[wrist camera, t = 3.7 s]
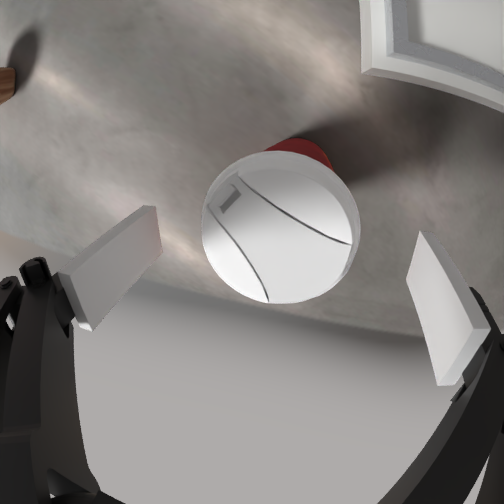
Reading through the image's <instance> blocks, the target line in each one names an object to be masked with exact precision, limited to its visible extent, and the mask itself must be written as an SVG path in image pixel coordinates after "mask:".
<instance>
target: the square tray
mask: <svg viewBox="0 0 504 504" xmlns="http://www.w3.org/2000/svg"><path fill="white" fill-rule="evenodd" d="M359 4H360V22H361V74H366V75H372V76H378V77H384V78H389V79H394V80H399V81H404V82H409V83H413V84H417V85H421V86H425V87H429V88H433V89H437V90H440V91H444V92H447V93H450V94H453V95H457V96H460V97H463V98H466V99H469V100H472V101H474V102H477V103H480V104H483V105H485V106H488V107H490V108H493V109H495V110H498V111H500V112H503V113H504V0H359Z"/></svg>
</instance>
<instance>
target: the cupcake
mask: <svg viewBox="0 0 504 504" xmlns="http://www.w3.org/2000/svg"><path fill="white" fill-rule="evenodd" d="M14 90H15V70H14V69H13V68H8V67H7V68H4V67H2V68H0V105H1V104H2V103H4V102H6V101H7V100H9V99H10V98H11V97H12V95H13V93H14Z"/></svg>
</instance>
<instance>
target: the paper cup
mask: <svg viewBox="0 0 504 504" xmlns="http://www.w3.org/2000/svg"><path fill="white" fill-rule="evenodd" d="M201 220H202V241H203V245H204V249H205V252H206V255H207V257H208V260H209V262H210V263H211V265H212V267H213V269H214V270H215V271H216V272H217V274H218V275H219V276H220V277H221V278H222V279H223V280H224V281H225V282H226V283H227V284H228V285H229V286H230V287H232V288H233V289H234V290H236V291H238V292H239V293H241V294H243V295H245V296H247V297H249V298H251V299H254V300H257V301H261V302H264V303H296V302H301V301H305V300H308V299H310V298H314V297H317V296H319V295H321V294H323V293H325V292H326V291H328V290H329V289H331V288H332V287H333V286H335V285H336V284H337V283H338V282H339V280H340V279H341V278H342V277H343V276H344V275H345V274H346V273H347V272H348V270H349V268H350V266H351V263H352V261H353V258H354V256H355V254H356V251H357V249H358V244H359V240H360V229H361V226H360V217H359V212H358V209H357V206H356V202H355V200H354V198H353V196H352V194H351V192H350V190H349V189H348V188H347V186H346V185H345V184H344V182H343V181H342V180H341V179H340V178H339V177H338V176H337V175H336V174H335V172H334V170H333V168H332V165H331V163H330V162H329V160H328V158H327V156H326V155H325V153H324V152H323V150H322V149H321V148H320V147H319V146H317V145H316V144H315V143H313V142H311V141H309V140H306V139H301V138H292V139H287V140H284V141H281V142H279V143H277V144H276V145H274V146H272V147H269V148H268V149H266V150H265V151H263V152H260V153H255V154H251V155H249V156H246V157H244V158H241V159H239V160H237V161H236V162H234V163H233V164H231V165H230V166H228V167H227V168H226V169H225V170H224V171H222V172H221V173H220V174H219V175H218V177H217V178H216V179H215V180H214V182H213V183H212V184H211V186H210V188H209V190H208V192H207V194H206V197H205V200H204V203H203V208H202V216H201Z"/></svg>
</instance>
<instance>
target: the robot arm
mask: <svg viewBox="0 0 504 504" xmlns="http://www.w3.org/2000/svg"><path fill="white" fill-rule="evenodd" d="M162 252H163V251H162V246H161V239H160V233H159V227H158V220H157V213H156V206H142V207H141V208H139V209H138V210H136V211H135V212H134V213H132V214H131V215H129V216H128V217H127V218H125V219H124V220H122V221H121V222H120V223H118V224H117V225H116V226H114V227H113V228H112V229H110V230H109V231H108V232H106V233H105V234H104V235H102V236H101V237H100V238H98V239H97V240H96V241H95V242H93V243H92V244H91V245H89V246H88V247H87V248H86V249H84V250H83V251H82V252H81V253H79V254H78V255H77V256H76V257H75V258H73V259H72V260H71V261H70V262H69V263H67V264H66V265H65V266H64V267H63V268H61V269H60V270H59V271H58V272H57V273H56V274H54V275H53V276H51V273H50V270H49V268H48V265H47V262H46V259H45V258H43V257H36V258H33V259H30V260H28V261H27V262H25V263H24V264H23V265H22V266H21V267H20V268H19V270H20V273H21V276H22V278H23V280H24V283H25V285H26V286H21V285H20V282H19V280H18V278H17V277H16V276H10V277H6V278H4V279H3V280H2V281H1V282H0V504H125V503H123V502H121V501H119V500H117V499H115V498H113V497H111V496H109V495H107V494H105V493H103V492H102V491H101V490H100V487H99V485H98V483H97V481H96V479H95V477H94V476H93V474H92V473H91V471H90V469H89V467H88V464H87V459H86V455H85V450H84V445H83V439H82V433H81V426H80V420H79V412H78V404H77V394H76V383H75V368H74V344H73V343H74V337H73V329H74V328H73V325H72V323H71V320H72V319H73V318H74V317H76V319H77V321H78V323H79V326H80V327H81V328H84V329H87V330H90V331H92V332H93V331H94V329H95V328H96V327H97V326H98V325H99V323H100V322H101V321H102V319H104V317H105V316H106V315H107V314H108V313H109V312H110V310H111V309H112V308H113V307H114V306H115V305H116V303H117V302H118V301H119V300H120V299H121V298H122V297H123V295H124V294H125V293H126V292H127V291H128V290H129V289H130V287H131V286H132V285H133V284H134V283H135V282H136V281H137V280H138V279H139V277H140V276H141V275H142V274H143V273H144V272H145V271H146V270H147V269H148V268H149V266H150V265H151V264H152V263H153V262H154V261H155V260H156V259H157V258H158V257H159V256H160V255H161V254H162ZM406 281H407V284H408V287H409V289H410V292H411V295H412V298H413V301H414V304H415V307H416V310H417V313H418V316H419V319H420V322H421V325H422V329H423V332H424V336H425V339H426V342H427V346H428V349H429V353H430V357H431V361H432V365H433V369H434V373H435V378H436V382H437V385H438V386H444V385H454V384H455V383H456V382H457V380H458V379H459V378H460V376H461V375H463V378H464V382H465V383H464V384H463V385H462V387H461V388H460V389H459V390H458V392H457V393H456V394H455V395H454V397H453V398H452V399H451V401H452V404H451V406H450V407H449V409H448V411H447V413H446V414H445V416H444V418H443V419H442V421H441V422H440V424H439V426H438V427H437V429H436V431H435V432H434V433H433V435H432V436H431V438H430V439H429V441H428V442H427V444H426V445H425V447H424V448H423V449H422V451H421V452H420V454H419V455H418V456H417V458H416V459H415V460H414V462H413V463H412V464H411V465H410V467H409V468H408V469H407V470H406V472H405V473H404V474H403V476H402V477H401V478H400V479H399V480H398V482H397V483H396V484H395V485H394V486H393V487H392V488H391V489H390V491H389V492H388V493H387V494H386V495H385V496H384V497H383V498H382V499H381V500H380V501H379V502H378V504H463V503H464V501H465V500H466V498H467V496H468V495H469V493H470V491H471V489H472V488H473V486H474V484H475V482H476V480H477V478H478V477H479V475H480V473H481V471H482V469H483V467H484V465H485V463H486V461H487V458H488V457H489V460H488V464H487V468H486V471H485V475H484V478H483V482H482V485H481V488H480V491H479V494H478V497H477V500H476V503H475V504H504V334H501V332H500V330H499V328H498V326H497V324H496V322H495V320H494V319H493V317H492V315H491V313H490V312H489V309H488V307H487V306H486V305H485V302H484V300H483V299H482V297H481V295H480V294H479V293H478V292H477V291H476V290H475V289H474V288H473V287H468V285H467V283H466V282H465V280H464V278H463V277H462V275H461V273H460V272H459V270H458V269H457V267H456V265H455V264H454V262H453V261H452V259H451V258H450V256H449V255H448V253H447V252H446V250H445V249H444V247H443V246H442V244H441V243H440V241H439V240H438V238H437V237H436V236H435V234H434V233H433V232H426V231H419V235H418V239H417V243H416V247H415V251H414V254H413V258H412V261H411V265H410V268H409V271H408V275H407V278H406ZM7 316H8V317H9V318H10V320H11V322H12V324H13V329H12V330H11V329H10V328H9V326H8V324H7V322H6V319H7ZM489 454H490V455H489ZM50 494H52V495H54V496H55V497H54V498H50Z"/></svg>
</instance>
